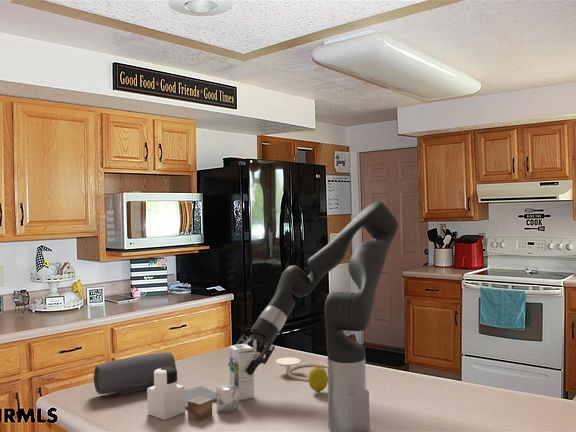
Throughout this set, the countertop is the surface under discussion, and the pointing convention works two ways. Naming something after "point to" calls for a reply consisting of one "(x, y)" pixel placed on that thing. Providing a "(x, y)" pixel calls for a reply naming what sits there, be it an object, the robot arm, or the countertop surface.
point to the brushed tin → (227, 399)
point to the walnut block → (199, 408)
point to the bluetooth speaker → (130, 373)
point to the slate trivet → (199, 394)
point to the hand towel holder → (296, 366)
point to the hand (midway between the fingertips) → (239, 370)
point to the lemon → (318, 379)
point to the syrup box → (241, 370)
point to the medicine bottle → (165, 394)
